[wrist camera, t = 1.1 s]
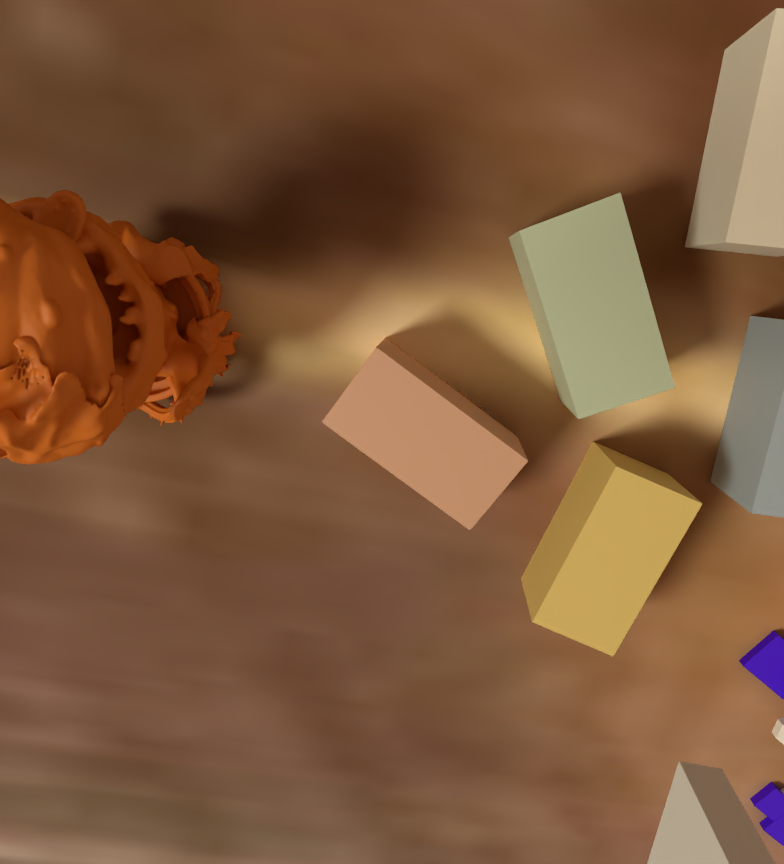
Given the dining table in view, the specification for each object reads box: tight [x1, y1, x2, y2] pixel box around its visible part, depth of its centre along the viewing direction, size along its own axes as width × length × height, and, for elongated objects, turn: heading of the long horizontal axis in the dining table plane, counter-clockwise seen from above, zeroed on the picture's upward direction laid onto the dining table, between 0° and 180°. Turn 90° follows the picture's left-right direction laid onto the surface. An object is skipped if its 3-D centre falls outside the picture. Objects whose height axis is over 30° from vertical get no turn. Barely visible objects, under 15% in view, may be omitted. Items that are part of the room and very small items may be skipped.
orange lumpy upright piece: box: [0, 190, 241, 464], centre depth 27 cm, size 11×11×18 cm
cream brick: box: [685, 8, 784, 256], centre depth 29 cm, size 9×4×5 cm, turn 174°
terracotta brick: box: [322, 338, 528, 530], centre depth 33 cm, size 9×4×5 cm, turn 54°
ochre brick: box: [521, 441, 702, 656], centre depth 34 cm, size 9×4×5 cm, turn 157°
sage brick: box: [509, 192, 675, 419], centre depth 31 cm, size 9×4×5 cm, turn 20°
